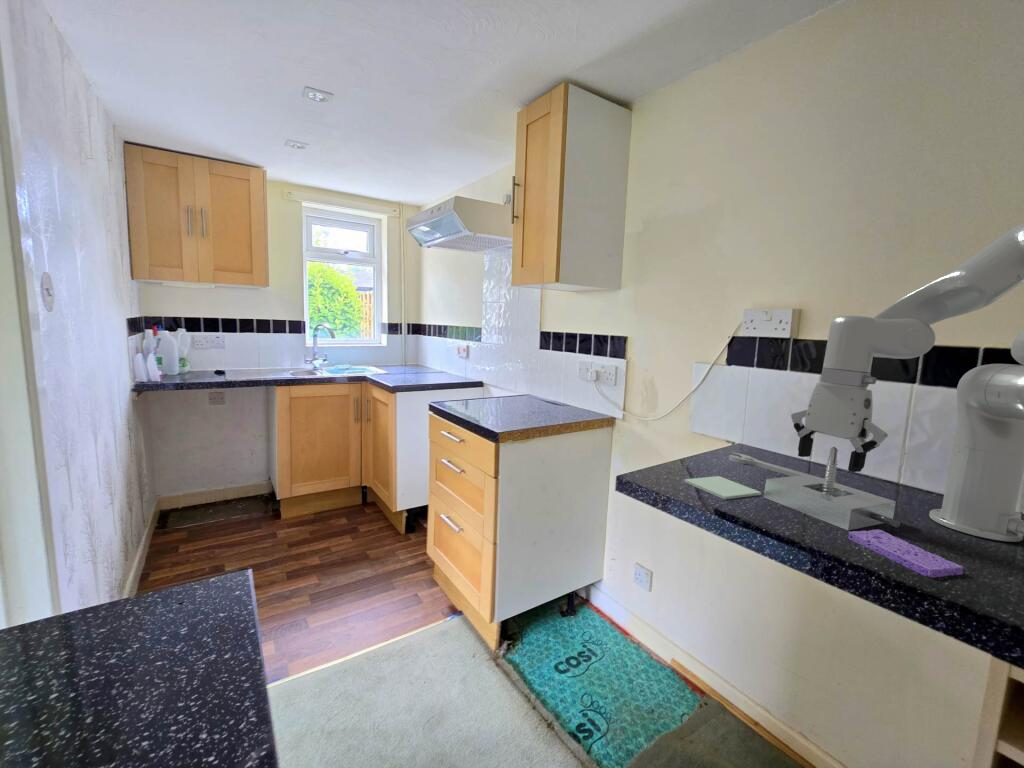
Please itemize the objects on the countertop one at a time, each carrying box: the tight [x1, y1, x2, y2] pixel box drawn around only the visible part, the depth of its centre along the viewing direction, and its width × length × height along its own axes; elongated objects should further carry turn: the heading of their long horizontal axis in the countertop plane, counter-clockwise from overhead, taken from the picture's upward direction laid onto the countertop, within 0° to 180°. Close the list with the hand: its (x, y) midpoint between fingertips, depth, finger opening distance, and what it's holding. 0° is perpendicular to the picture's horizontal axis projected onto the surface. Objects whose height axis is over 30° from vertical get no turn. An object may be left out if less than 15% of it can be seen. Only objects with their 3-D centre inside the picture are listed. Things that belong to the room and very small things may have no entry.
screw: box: [823, 446, 839, 496], centre depth 90 cm, size 13×5×5 cm
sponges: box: [848, 528, 963, 578], centre depth 72 cm, size 7×13×2 cm, turn 13°
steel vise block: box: [763, 474, 901, 531], centre depth 89 cm, size 20×14×4 cm
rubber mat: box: [683, 475, 762, 500], centre depth 99 cm, size 11×11×1 cm
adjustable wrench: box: [728, 452, 824, 479], centre depth 117 cm, size 25×6×2 cm, turn 29°
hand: (828, 463), depth 90 cm, fingers open, 9 cm apart
